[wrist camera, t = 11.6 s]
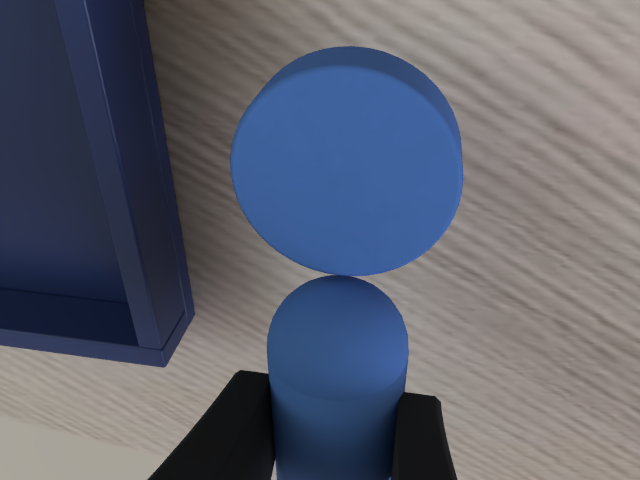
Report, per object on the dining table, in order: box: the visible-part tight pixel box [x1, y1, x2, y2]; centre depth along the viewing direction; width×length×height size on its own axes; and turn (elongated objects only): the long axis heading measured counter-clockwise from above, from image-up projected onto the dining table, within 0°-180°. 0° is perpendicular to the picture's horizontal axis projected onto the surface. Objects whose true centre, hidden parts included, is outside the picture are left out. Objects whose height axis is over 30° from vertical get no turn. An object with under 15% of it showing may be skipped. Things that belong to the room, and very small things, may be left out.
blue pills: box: [230, 46, 463, 480], centre depth 10 cm, size 10×3×2 cm, turn 0°
